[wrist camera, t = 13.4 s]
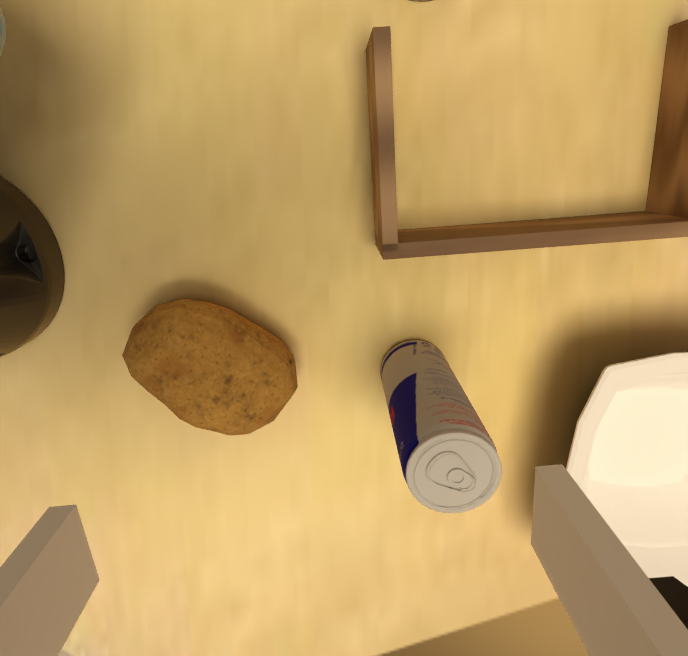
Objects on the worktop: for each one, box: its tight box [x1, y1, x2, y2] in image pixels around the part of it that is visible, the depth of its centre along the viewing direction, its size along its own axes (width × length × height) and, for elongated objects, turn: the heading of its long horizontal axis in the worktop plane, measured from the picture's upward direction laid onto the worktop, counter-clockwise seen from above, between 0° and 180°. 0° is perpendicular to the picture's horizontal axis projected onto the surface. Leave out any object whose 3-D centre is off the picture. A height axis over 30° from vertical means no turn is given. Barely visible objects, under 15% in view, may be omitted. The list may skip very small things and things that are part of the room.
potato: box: [122, 299, 298, 435], centre depth 38 cm, size 9×13×7 cm
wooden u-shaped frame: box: [366, 19, 688, 260], centre depth 33 cm, size 14×22×6 cm, turn 94°
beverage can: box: [380, 340, 502, 513], centre depth 35 cm, size 6×6×15 cm
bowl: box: [553, 352, 688, 592], centre depth 41 cm, size 22×23×8 cm
